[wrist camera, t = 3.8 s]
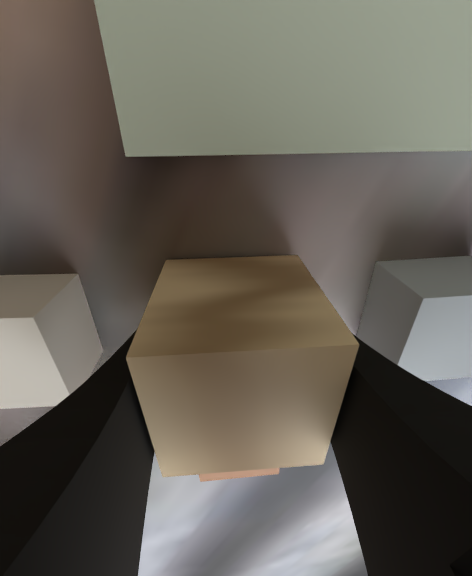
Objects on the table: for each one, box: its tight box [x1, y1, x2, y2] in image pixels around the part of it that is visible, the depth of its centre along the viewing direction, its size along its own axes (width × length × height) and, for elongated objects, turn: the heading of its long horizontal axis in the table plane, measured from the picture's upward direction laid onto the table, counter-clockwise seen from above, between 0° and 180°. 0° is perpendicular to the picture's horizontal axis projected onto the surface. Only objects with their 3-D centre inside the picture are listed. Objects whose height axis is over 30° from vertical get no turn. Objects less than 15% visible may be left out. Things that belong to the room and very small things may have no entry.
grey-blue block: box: [357, 256, 472, 381], centre depth 11 cm, size 4×4×3 cm
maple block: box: [126, 255, 359, 477], centre depth 9 cm, size 5×5×5 cm
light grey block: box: [0, 274, 103, 409], centre depth 10 cm, size 4×4×3 cm
